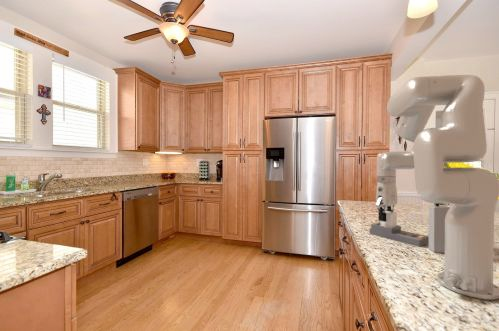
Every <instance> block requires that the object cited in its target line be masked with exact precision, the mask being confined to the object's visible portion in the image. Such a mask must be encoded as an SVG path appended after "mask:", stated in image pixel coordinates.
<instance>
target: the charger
mask: <svg viewBox="0 0 499 331" xmlns="http://www.w3.org/2000/svg"><path fill="white" fill-rule="evenodd" d="M385 213H386V222H384V221H379V222H380V226H384V227H388V228H392V227H395V226H397V223H398V222H397V214H398V213H397V212H395V211H393V212H390V211H386V212H385Z"/></svg>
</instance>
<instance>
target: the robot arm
mask: <svg viewBox="0 0 499 331" xmlns="http://www.w3.org/2000/svg"><path fill="white" fill-rule="evenodd" d="M485 88H486V87H485V84H484V81H483V80H482V78H480V77H479V76H476V75H473V74H449V75H437V76H436V75H432V76H431V75H430V76H428V75H427V76H418V77H414V78H410V79H409V80H408V81H406V82H405V83H404V84H403V85H402V86H400V87H399V88H397V89H396V90H395V92H393V94H391V96H390V98H389V99H388V101H387V105H386V112H387V114H388V115H389V116H390V117H393V118H398V117H399V120H398V122H397V125H396V126H395V133H396V135H397V136H398V137H400V138H401V139H403V140H406V141H408V142H411V143H413V145H412V147H411V149H410V150H408V151H385V152H380V153H377V156H376V184H377V185H376V192H375V194H376V195H375V203H376V204H375V207H376V208H377V212H378V222H380V221H384V222H386V213H385V212H386V211H390V212H395V206H396V205H397V204H398V189H397V171H398V170H414V180H415V181H414V182H415V189H416V193H417V194H418V196H419V198H420V199H421V200H422V201H424V202H426V203H429V204H436V203H438V204H439V205H441V204H442V205H443V204H445V205H447V204H451V206H450V208H449V210H448V212H447V214H446V217H445V253H444V269H443V270H444V271H443V272H438V274H437V277H436V279H437V280H436V281H438V283H440V284H441V286H443V287H444V288H447V289H448V290H451V291H453V292H455V293H457V294H461V295H464V296H468V297H471V298H475V299H479V300H490V301H491V300H499V286H497V285H496V284H495V283H494V254H495V253H494V251H495V250H494V246H495V245H494V244H495V243H494V242H495V241H494V240H495V239H494V237H495V236H494V234H495V233H494V232H495V212H496V207H497V204H498V200H499V178H498V177H497V175H496V174H495V173H493V172H491V171H490V170H488V169H485V168H479V167H470V166H469V167H467V166H466V167H462V166H461V167H457V166H456V167H444V165H445V164H447V163H448V164H450V163H452V164H454V163H459V164H460V163H473V162H477V161H480V160H482V159H483V158H485V156H486V154H487V146H488V145H487V136H486V135H487V134H486V126H485V125H486V124H485V116H484V115H485V114H484V108H483V107H484V99H485V92H486V91H485ZM436 106H445V107H444V108H443V111H442V112H441V125H442V126H441V127H431V128H426V129H425V127H426V126H427V124H428V121H429V120H430V117H431V116H432V113H433V112H434V109H435V108H436Z"/></svg>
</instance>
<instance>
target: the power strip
mask: <svg viewBox="0 0 499 331" xmlns="http://www.w3.org/2000/svg"><path fill="white" fill-rule="evenodd" d="M370 225H371V226H370V227H371V228H369V234H370V235H371V236H376V237H380V238H384V239H387V240H392V241H395V242H399V243H403V244H407V245H411V246H414V247H418V248H419V247H422V246H424V245H427V244H429V235H424V234H420V233H415V232H411V231H406V230H402V226H401V225H397V226H395V227H392V228H388V227H384V226H380V221H378V222H375V223H372V224H370Z"/></svg>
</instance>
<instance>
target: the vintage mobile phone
mask: <svg viewBox="0 0 499 331" xmlns="http://www.w3.org/2000/svg"><path fill="white" fill-rule="evenodd" d="M450 207H451V206H450ZM450 207H449V206H447V205H440V204H438V203H435V205H431V204H430V205H428V236H429V243H428V250H429V251H431V252H433V253H437V254H445V217H446V214H447V212H448V210H449V208H450Z"/></svg>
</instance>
